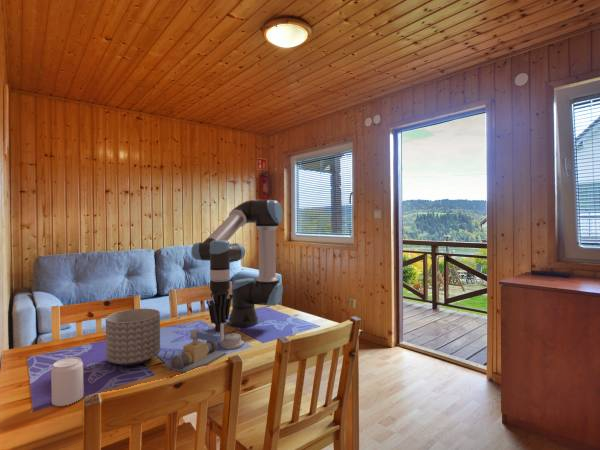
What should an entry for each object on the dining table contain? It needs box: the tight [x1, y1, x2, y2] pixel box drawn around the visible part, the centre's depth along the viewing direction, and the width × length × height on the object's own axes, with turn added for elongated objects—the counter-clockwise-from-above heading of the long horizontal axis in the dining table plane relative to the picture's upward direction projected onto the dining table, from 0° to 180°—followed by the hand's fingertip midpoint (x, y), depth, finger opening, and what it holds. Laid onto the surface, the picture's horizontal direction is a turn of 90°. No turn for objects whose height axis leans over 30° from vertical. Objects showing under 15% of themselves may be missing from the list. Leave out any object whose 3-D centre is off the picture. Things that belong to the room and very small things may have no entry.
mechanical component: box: [220, 332, 245, 350], centre depth 153 cm, size 10×4×10 cm
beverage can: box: [50, 356, 84, 407], centre depth 107 cm, size 8×8×12 cm
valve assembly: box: [161, 338, 227, 374], centre depth 137 cm, size 20×14×9 cm
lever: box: [190, 329, 222, 344], centre depth 134 cm, size 14×3×2 cm, turn 64°
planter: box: [105, 308, 161, 366], centre depth 136 cm, size 19×19×18 cm
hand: (220, 339), depth 137 cm, fingers closed
